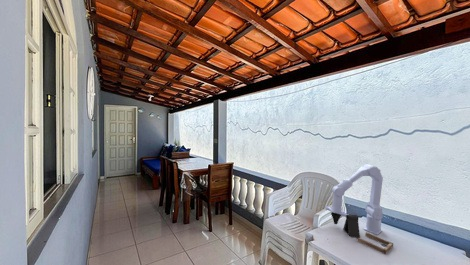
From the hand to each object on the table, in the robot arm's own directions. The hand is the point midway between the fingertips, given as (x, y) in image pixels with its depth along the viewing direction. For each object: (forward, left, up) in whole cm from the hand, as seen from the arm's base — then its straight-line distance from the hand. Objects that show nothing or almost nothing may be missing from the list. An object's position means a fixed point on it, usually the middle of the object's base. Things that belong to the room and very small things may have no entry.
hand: (335, 223), depth 132 cm
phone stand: (0, +10, -2) cm, 10 cm away
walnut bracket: (0, +23, -2) cm, 23 cm away
